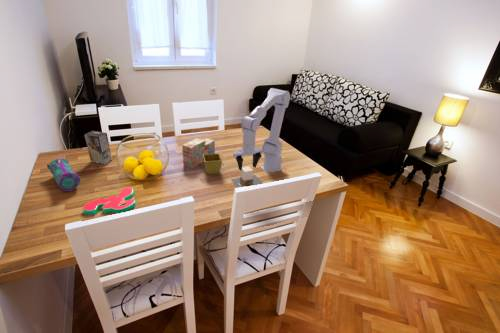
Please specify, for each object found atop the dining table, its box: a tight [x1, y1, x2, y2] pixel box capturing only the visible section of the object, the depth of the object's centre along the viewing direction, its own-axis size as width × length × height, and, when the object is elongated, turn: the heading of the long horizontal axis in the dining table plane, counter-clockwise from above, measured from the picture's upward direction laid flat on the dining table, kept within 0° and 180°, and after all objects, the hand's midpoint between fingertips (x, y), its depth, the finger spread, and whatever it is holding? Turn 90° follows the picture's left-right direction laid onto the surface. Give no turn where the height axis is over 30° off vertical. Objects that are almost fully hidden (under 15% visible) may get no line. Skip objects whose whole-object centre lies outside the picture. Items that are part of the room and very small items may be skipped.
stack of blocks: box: [182, 137, 216, 169], centre depth 158 cm, size 21×6×12 cm, turn 151°
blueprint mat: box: [230, 174, 264, 187], centre depth 140 cm, size 14×14×1 cm
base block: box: [239, 176, 254, 187], centre depth 138 cm, size 5×5×4 cm
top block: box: [239, 165, 254, 181], centre depth 136 cm, size 4×4×5 cm
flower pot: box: [203, 152, 223, 175], centre depth 147 cm, size 9×9×9 cm
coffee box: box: [84, 130, 113, 165], centre depth 148 cm, size 9×6×16 cm
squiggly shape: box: [82, 186, 136, 216], centre depth 119 cm, size 20×16×2 cm
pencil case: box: [46, 157, 81, 192], centre depth 130 cm, size 21×9×10 cm, turn 44°
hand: (247, 168), depth 134 cm, fingers open, 7 cm apart
